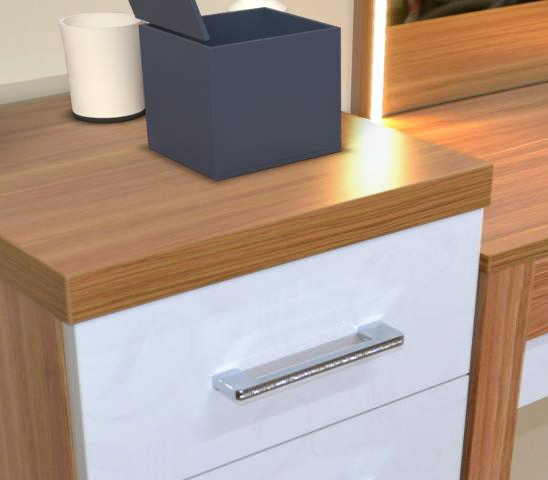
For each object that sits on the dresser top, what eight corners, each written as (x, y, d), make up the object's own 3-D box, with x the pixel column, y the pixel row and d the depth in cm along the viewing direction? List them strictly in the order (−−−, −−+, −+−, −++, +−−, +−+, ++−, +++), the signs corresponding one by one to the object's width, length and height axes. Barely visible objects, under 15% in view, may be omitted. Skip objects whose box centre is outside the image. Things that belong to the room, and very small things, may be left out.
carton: (216, 181, 109) (209, 48, 103) (148, 147, 118) (138, 24, 112) (341, 151, 117) (341, 27, 112) (268, 122, 126) (265, 6, 121)
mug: (92, 129, 123) (82, 32, 119) (55, 111, 130) (44, 18, 125) (180, 111, 130) (173, 19, 125) (141, 95, 136) (133, 6, 131)
